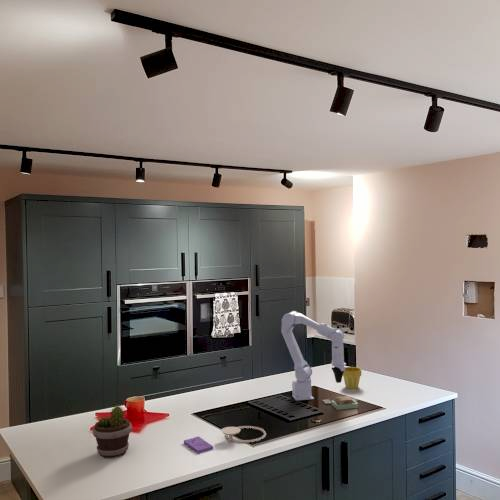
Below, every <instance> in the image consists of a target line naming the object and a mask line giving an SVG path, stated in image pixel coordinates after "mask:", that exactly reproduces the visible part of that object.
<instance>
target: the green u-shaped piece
mask: <svg viewBox="0 0 500 500" xmlns="http://www.w3.org/2000/svg"><path fill="white" fill-rule="evenodd" d="M350 398H351V399H352V400H353V404H341V405H338V404H337V403H336V401H334V400H333V399H332V400H330V399H329V398H328V399H322V400H321V402H322V403H323V404H324V405H325V406H326V405H331V406H333V408H335V410H337V411H338V410H347V409H349V410H350V409H358V408H359V403H358V400H357V399H356V398H354V397H353V396H352V397H350Z"/></svg>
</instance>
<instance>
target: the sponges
mask: <svg viewBox="0 0 500 500" xmlns="http://www.w3.org/2000/svg"><path fill="white" fill-rule="evenodd" d="M183 444H184V445H185V446H187V447H188V448H189V449H191V450H192V451H193V452H195V453H197V454H202V453H206V452H208V451H212V450H214V446H213V444H211V443H209V442H208V441H206V440H204V439H203V438H202V437H201V436H199V435H198V436H194V437H193V438H188V439H183Z"/></svg>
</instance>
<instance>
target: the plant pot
mask: <svg viewBox="0 0 500 500" xmlns="http://www.w3.org/2000/svg"><path fill="white" fill-rule="evenodd" d="M344 367H345V371H344V373H343V376H342V378H343V381H344V385H345V388H347V389H351V390H352V389H358V388H359V384H360V379H361V377H362V369H361V368H360V367H356V366H344Z"/></svg>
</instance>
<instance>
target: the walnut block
mask: <svg viewBox="0 0 500 500" xmlns="http://www.w3.org/2000/svg"><path fill="white" fill-rule="evenodd" d="M335 403H337V404H338V405H341V404H353V400H352V399H351V397H350V396H349V395H345V396H342V395H341V396H335Z"/></svg>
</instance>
